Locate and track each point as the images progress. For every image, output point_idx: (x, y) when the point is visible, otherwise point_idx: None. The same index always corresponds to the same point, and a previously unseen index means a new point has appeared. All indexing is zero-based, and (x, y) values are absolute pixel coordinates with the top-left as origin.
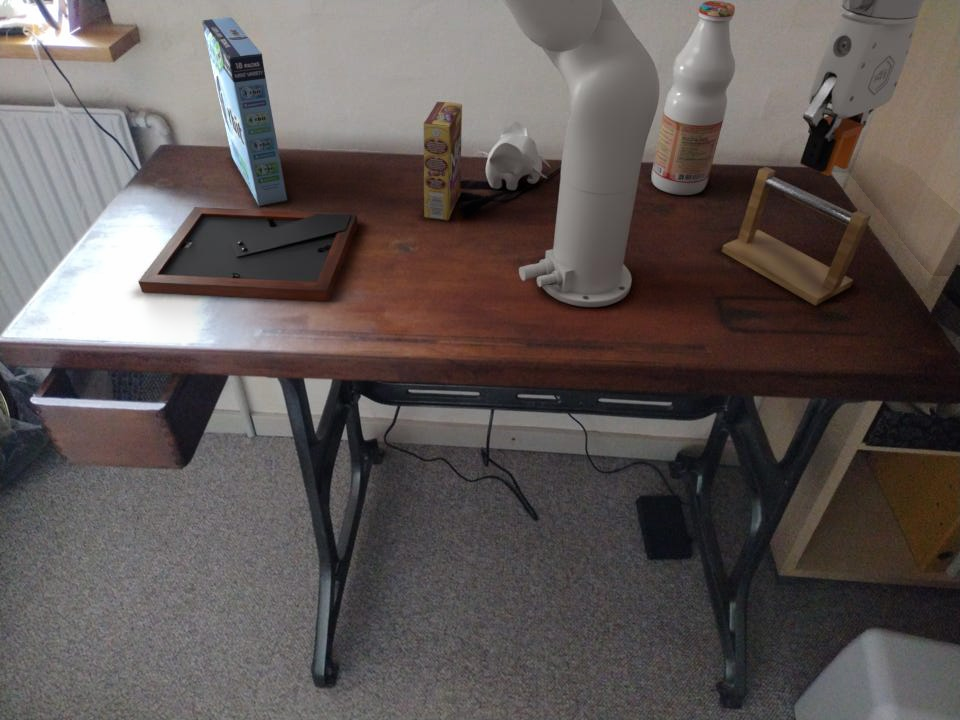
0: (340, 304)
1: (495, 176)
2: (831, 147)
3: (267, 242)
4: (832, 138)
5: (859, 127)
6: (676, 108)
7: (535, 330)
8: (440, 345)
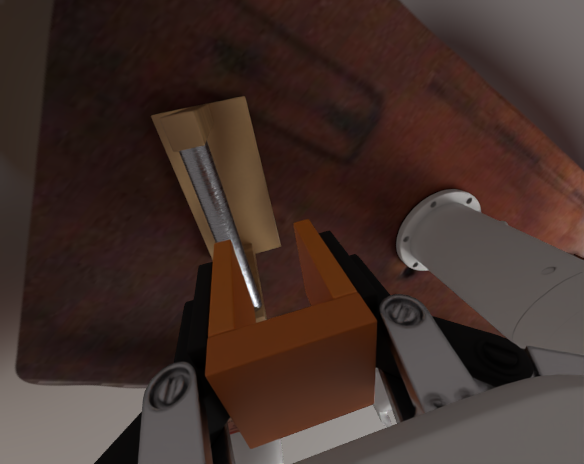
0: (572, 249)
1: None
2: (363, 276)
3: None
4: (384, 304)
5: (241, 357)
6: (282, 457)
7: (518, 178)
8: (575, 185)
